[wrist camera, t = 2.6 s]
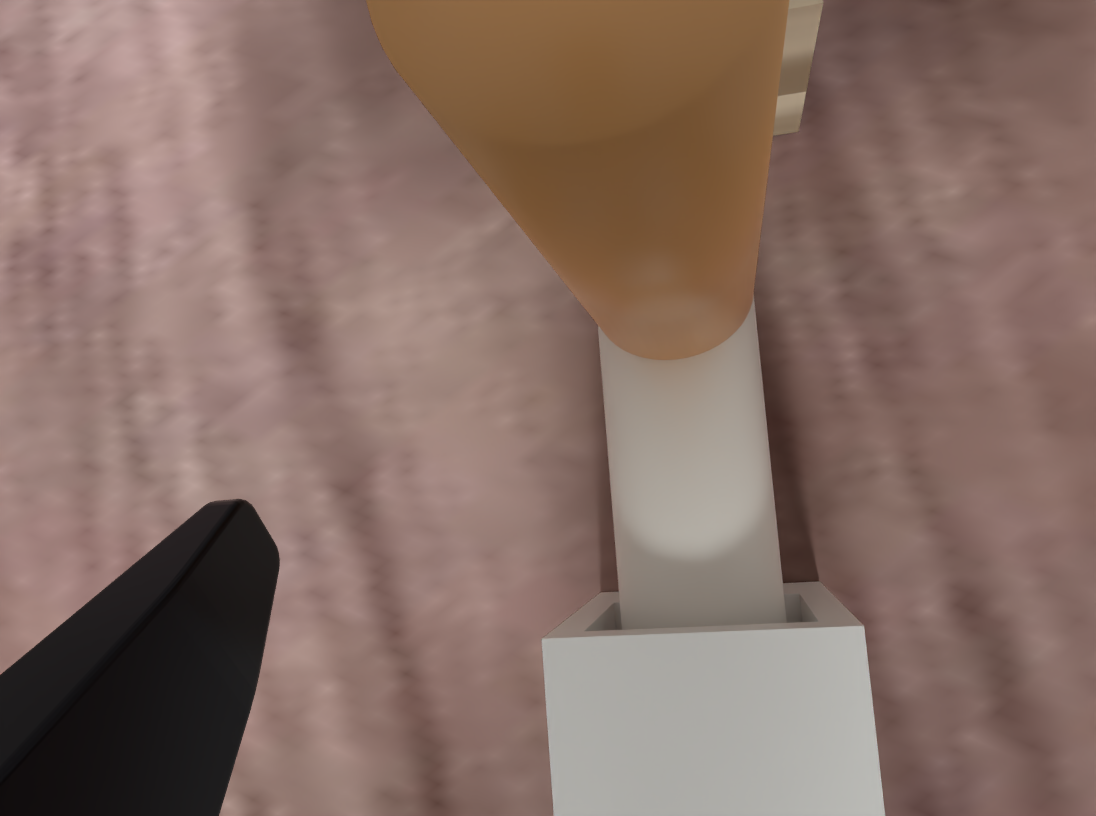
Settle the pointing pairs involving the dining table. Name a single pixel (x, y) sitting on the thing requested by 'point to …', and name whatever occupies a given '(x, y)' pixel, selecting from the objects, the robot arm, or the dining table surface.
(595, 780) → the outer sleeve
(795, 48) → the end socket
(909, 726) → the dining table surface
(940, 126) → the dining table surface
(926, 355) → the dining table surface
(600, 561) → the dining table surface
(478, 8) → the multicoloured piece
